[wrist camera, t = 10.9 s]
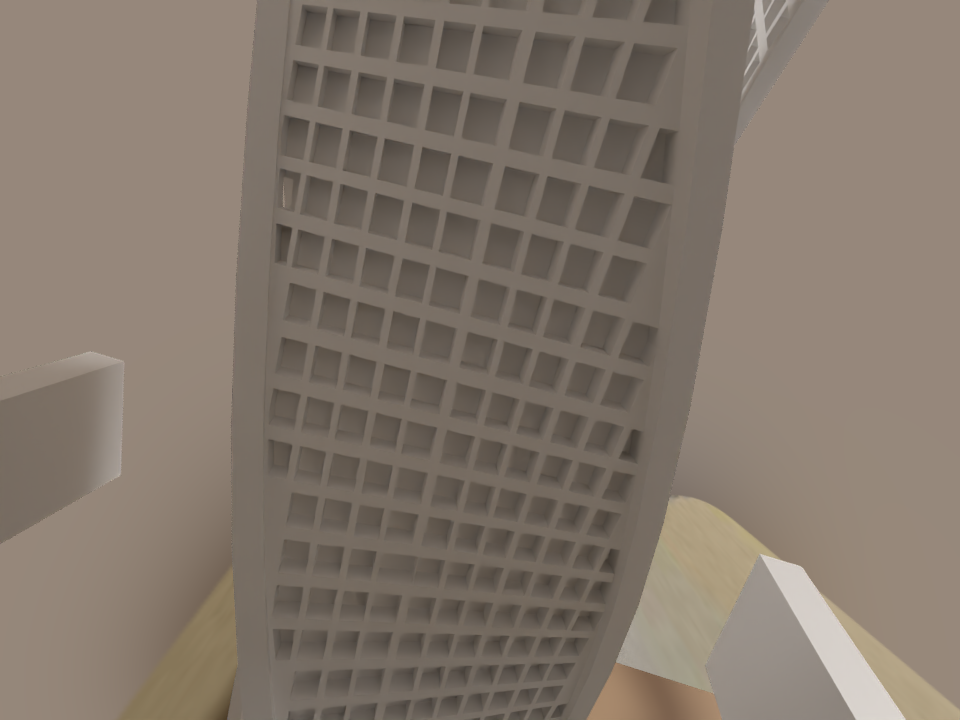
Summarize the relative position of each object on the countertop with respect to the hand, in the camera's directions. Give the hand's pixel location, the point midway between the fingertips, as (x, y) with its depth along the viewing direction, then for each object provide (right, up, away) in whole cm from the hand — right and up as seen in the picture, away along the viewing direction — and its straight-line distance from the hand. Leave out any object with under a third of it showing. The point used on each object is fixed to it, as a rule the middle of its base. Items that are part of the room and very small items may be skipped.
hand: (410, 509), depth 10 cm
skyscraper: (-4, -15, +4) cm, 16 cm away
